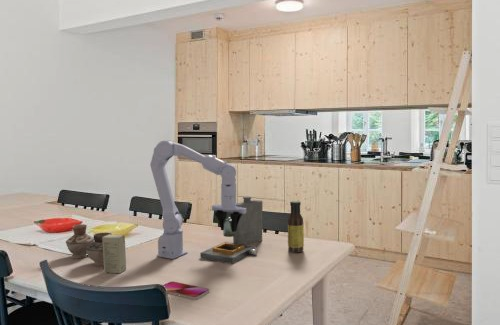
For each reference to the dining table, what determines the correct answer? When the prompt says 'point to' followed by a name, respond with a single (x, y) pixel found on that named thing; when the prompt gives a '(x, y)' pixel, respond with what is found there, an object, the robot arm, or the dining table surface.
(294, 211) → the sauce bottle
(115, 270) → the skincare box
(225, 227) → the spout can
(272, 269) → the dining table surface
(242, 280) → the dining table surface
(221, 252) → the grey square hole board
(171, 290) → the smartphone
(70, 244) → the pottery
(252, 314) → the dining table surface
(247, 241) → the hip flask
